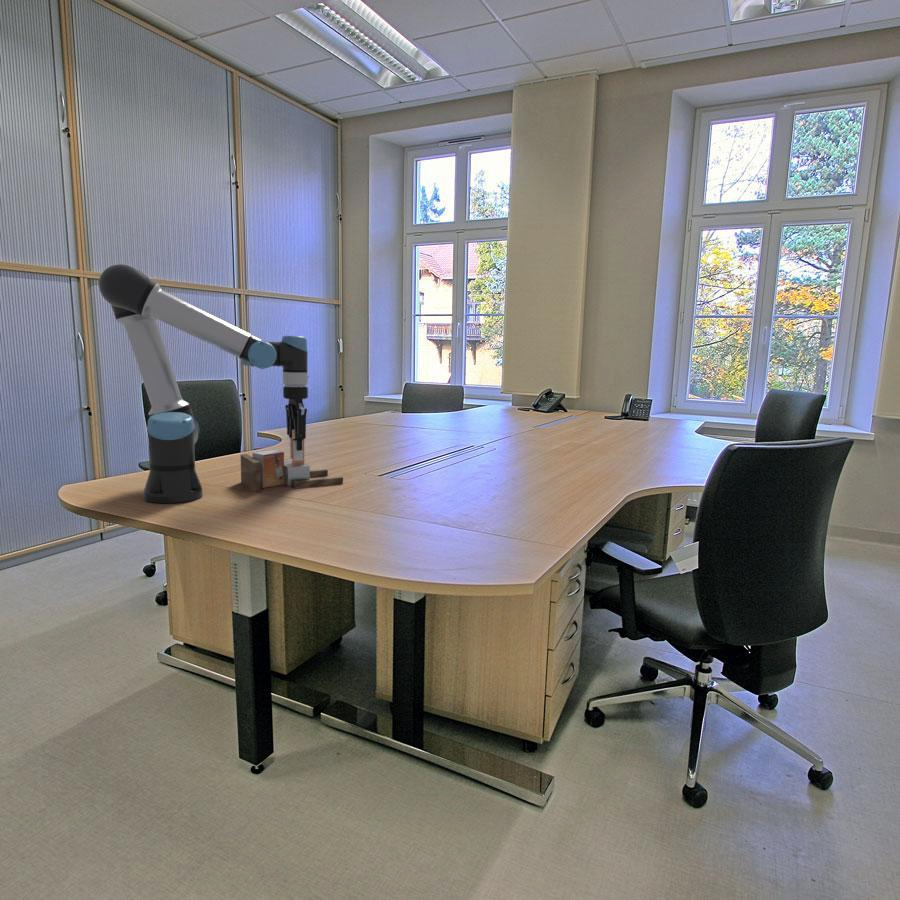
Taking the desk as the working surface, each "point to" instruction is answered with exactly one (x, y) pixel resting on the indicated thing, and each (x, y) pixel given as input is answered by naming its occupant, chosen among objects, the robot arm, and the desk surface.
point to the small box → (271, 467)
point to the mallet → (295, 468)
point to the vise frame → (253, 481)
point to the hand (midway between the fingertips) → (296, 459)
